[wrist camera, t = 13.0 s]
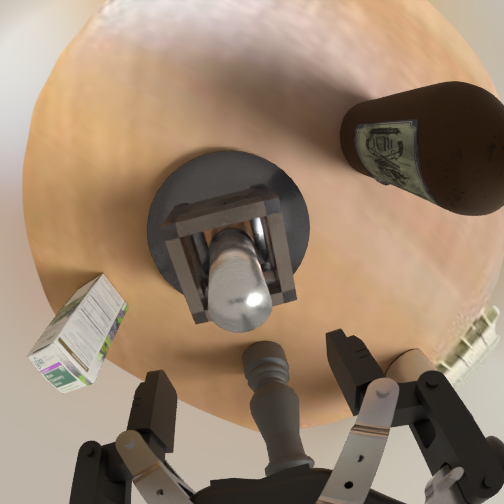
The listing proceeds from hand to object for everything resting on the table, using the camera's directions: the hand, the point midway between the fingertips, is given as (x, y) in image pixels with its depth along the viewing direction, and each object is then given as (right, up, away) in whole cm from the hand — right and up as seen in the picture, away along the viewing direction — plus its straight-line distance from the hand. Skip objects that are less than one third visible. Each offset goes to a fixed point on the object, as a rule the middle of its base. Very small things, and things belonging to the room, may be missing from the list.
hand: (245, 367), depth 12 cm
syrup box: (-20, 0, +20) cm, 28 cm away
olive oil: (+15, +19, +17) cm, 29 cm away
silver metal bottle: (-2, +7, +18) cm, 19 cm away
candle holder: (+2, -10, +27) cm, 29 cm away
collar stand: (-2, +8, +19) cm, 21 cm away
